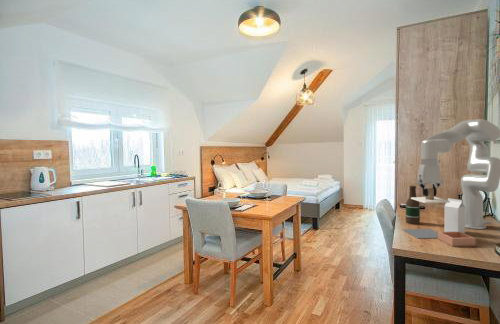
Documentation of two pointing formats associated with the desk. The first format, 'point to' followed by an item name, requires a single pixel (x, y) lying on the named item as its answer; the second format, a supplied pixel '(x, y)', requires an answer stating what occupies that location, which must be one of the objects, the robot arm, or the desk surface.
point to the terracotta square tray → (456, 239)
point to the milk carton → (454, 216)
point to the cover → (430, 198)
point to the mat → (422, 233)
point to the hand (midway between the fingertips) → (429, 195)
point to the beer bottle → (412, 208)
